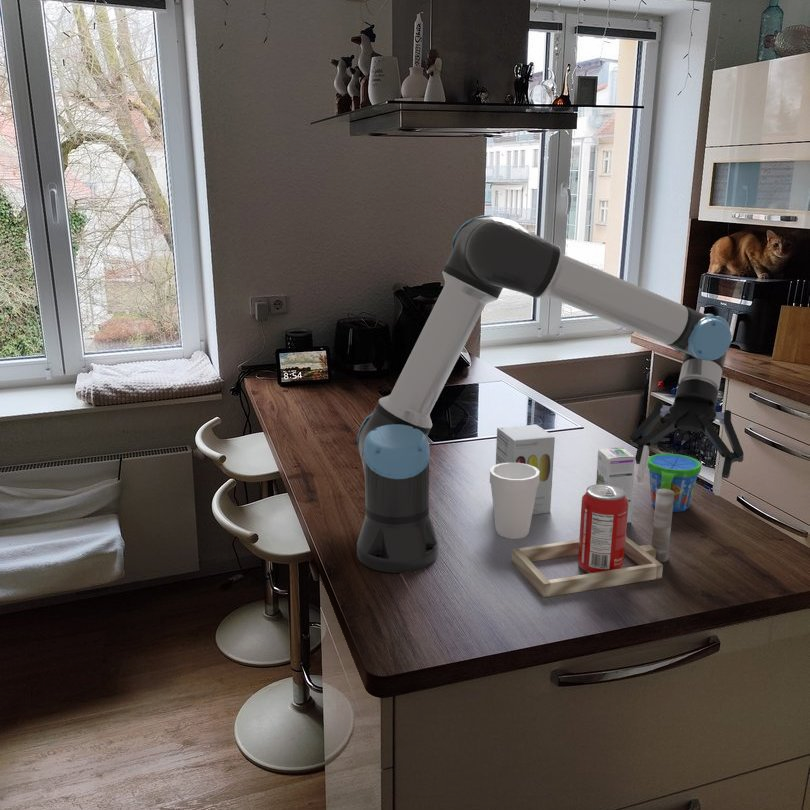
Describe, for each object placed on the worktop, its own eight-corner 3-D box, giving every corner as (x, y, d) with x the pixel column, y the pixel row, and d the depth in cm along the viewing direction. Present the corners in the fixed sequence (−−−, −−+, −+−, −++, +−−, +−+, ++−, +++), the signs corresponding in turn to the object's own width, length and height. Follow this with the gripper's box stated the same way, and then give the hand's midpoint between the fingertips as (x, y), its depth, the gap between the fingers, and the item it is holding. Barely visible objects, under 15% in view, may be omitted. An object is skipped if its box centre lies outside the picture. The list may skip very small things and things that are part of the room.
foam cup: (503, 547, 146) (505, 483, 142) (479, 527, 154) (481, 466, 150) (546, 537, 149) (549, 475, 146) (520, 519, 157) (523, 459, 154)
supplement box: (509, 518, 158) (512, 440, 153) (492, 501, 167) (494, 426, 162) (552, 512, 160) (556, 436, 156) (533, 496, 169) (536, 422, 164)
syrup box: (631, 523, 155) (637, 456, 151) (603, 526, 154) (608, 457, 150) (619, 512, 160) (624, 446, 156) (592, 514, 160) (597, 448, 155)
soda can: (589, 582, 133) (595, 501, 128) (570, 561, 140) (574, 484, 136) (631, 576, 134) (637, 497, 130) (609, 556, 142) (615, 480, 138)
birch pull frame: (543, 597, 127) (547, 525, 124) (511, 561, 139) (514, 495, 136) (688, 573, 135) (695, 505, 131) (646, 541, 147) (651, 477, 143)
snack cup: (657, 489, 172) (661, 446, 169) (705, 499, 166) (710, 455, 163) (632, 513, 160) (636, 467, 157) (684, 525, 154) (689, 478, 151)
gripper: (767, 405, 147) (750, 506, 139) (635, 389, 159) (611, 482, 150) (768, 385, 141) (751, 489, 133) (631, 370, 153) (606, 465, 144)
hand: (677, 485), depth 142 cm, fingers open, 13 cm apart
